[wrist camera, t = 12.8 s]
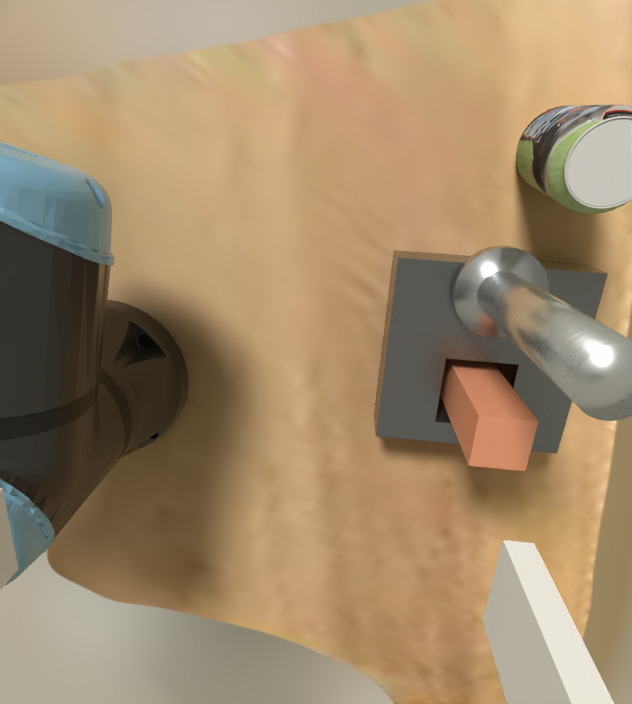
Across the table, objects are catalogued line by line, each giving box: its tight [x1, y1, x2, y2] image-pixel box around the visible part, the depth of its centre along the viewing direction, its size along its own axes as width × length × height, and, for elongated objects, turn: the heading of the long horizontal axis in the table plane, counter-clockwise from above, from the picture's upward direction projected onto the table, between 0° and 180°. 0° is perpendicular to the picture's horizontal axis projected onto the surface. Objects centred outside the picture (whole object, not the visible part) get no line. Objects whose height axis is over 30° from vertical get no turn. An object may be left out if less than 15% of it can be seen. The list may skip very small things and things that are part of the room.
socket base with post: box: [374, 246, 632, 453], centre depth 32 cm, size 16×18×22 cm
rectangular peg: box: [440, 358, 538, 471], centre depth 38 cm, size 4×4×12 cm
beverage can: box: [516, 105, 632, 214], centre depth 32 cm, size 6×7×12 cm
